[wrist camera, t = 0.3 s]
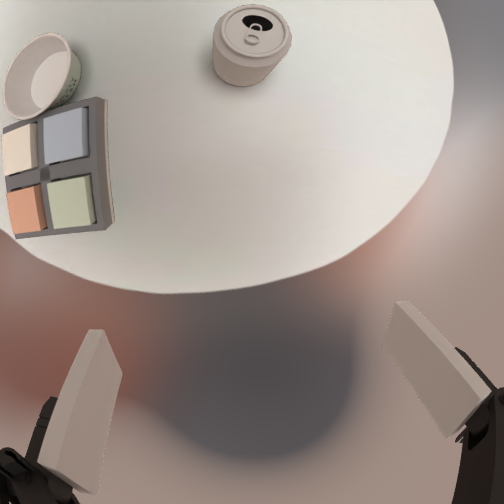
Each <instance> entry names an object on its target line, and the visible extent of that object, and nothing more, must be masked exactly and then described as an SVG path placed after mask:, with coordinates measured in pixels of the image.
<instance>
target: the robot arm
mask: <svg viewBox="0 0 504 504" xmlns="http://www.w3.org/2000/svg"><path fill="white" fill-rule="evenodd" d="M382 346H383V348H384V349H385V351H386V352H387V353H388V355H389V356H390V357H391V359H392V360H393V362H394V363H395V364H396V366H397V367H398V369H399V370H400V371H401V373H402V374H403V376H404V377H405V379H406V380H407V382H408V383H409V384H410V386H411V387H412V389H413V390H414V392H415V393H416V395H417V396H418V398H419V399H420V400H421V402H422V404H423V405H424V406H425V408H426V410H427V411H428V413H429V414H430V416H431V417H432V418H433V420H434V422H435V423H436V425H437V426H438V428H439V430H440V431H441V433H442V434H443V436H444V438H445V439H447V438H449V437H450V436H452V435H454V434H455V433H456V432H458V431H459V430H460V429H461V427H462V426H463V425H464V424H465V425H466V426H467V427H466V428H465V429H464V430H463V431H462V432H461V434H459V435H458V437H457V438H456V440H455V442H458V441H459V440H460V439H461V438H462V437H463V438H462V439H461V441H460V443H463V445H462V453H461V461H460V467H459V473H458V478H457V483H456V488H455V492H454V497H453V500H452V504H504V387H503V388H499V389H497V388H496V387H495V386H494V385H493V384H492V383H491V381H490V380H489V379H488V378H487V377H486V376H485V374H484V373H483V372H482V371H481V370H480V369H479V368H478V367H477V366H476V364H475V363H474V362H473V361H472V360H471V359H470V358H469V356H468V355H467V354H466V353H465V352H463V351H462V350H460V349H458V348H457V347H455V348H454V347H453V346H452V345H451V344H450V343H449V342H448V341H447V340H446V339H445V338H444V337H443V335H441V333H440V332H439V331H438V330H437V329H436V328H435V327H434V326H433V325H432V324H431V323H430V322H429V321H428V320H427V319H426V318H425V317H424V316H423V315H422V314H421V313H420V312H419V311H418V310H417V309H416V308H415V307H414V306H413V305H412V304H411V303H410V302H409V301H408V300H403V301H398V302H395V305H394V308H393V312H392V315H391V318H390V321H389V324H388V328H387V331H386V334H385V337H384V339H383V342H382ZM121 377H122V371H121V369H120V367H119V365H118V362H117V360H116V358H115V356H114V353H113V351H112V349H111V346H110V344H109V342H108V339H107V337H106V334H105V332H104V330H89V331H88V333H87V335H86V337H85V339H84V341H83V343H82V345H81V347H80V349H79V351H78V353H77V355H76V358H75V360H74V362H73V364H72V366H71V369H70V371H69V373H68V376H67V378H66V380H65V383H64V385H63V388H62V390H61V392H60V395H59V397H58V398H56V397H50V398H49V399H48V401H47V402H46V403H45V404H44V405H43V407H42V410H41V413H40V415H39V416H40V418H38V420H37V423H36V425H37V426H36V427H35V429H34V432H33V435H32V438H31V441H30V444H29V447H28V450H27V453H26V456H25V458H23V457H22V456H21V455H20V454H19V453H18V452H16V451H15V450H14V449H12V448H9V447H7V448H3V449H1V450H0V504H9V502H11V504H80V503H79V502H78V500H77V498H76V497H75V495H74V494H73V493H72V489H73V488H74V489H76V490H78V491H79V492H81V493H84V494H88V495H92V496H95V497H98V496H99V488H100V480H101V473H102V466H103V460H104V454H105V448H106V443H107V438H108V432H109V427H110V423H111V418H112V414H113V410H114V405H115V401H116V397H117V393H118V389H119V385H120V381H121Z"/></svg>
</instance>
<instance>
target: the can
mask: <svg viewBox="0 0 504 504" xmlns="http://www.w3.org/2000/svg"><path fill="white" fill-rule="evenodd" d="M291 39H292V35H291V32H290V29H289V26H288V25H287V22H286V21H285V19H284V18H283V17H282V15H280V14H279V13H278V12H276V11H275V10H273V9H271V8H268V7H266V6H262V5H255V4H251V5H243V6H240V7H237V8H235V9H233V10H230V11H228V12H227V13H226V14H224V15H223V16H222V17H221V18H220V19H219V20H218V22H217V24H216V25H215V28H214V34H213V66H214V70H215V71H216V73H217V74H218V76H219V77H220V78H221V79H223V80H224V81H225V82H227V83H229V84H232V85H235V86H250V85H254V84H256V83H258V82H260V81H262V80H263V79H264V78H265V77H266V76H267V75H268V74H269V73H270V72H271V71H272V69H273V68H274V67H275V66H276V65H277V64H278V63H279V62H280V61H281V60H282V58H283V57H284V56H285V55H286V54H287V52H288V50H289V48H290V46H291Z"/></svg>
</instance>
